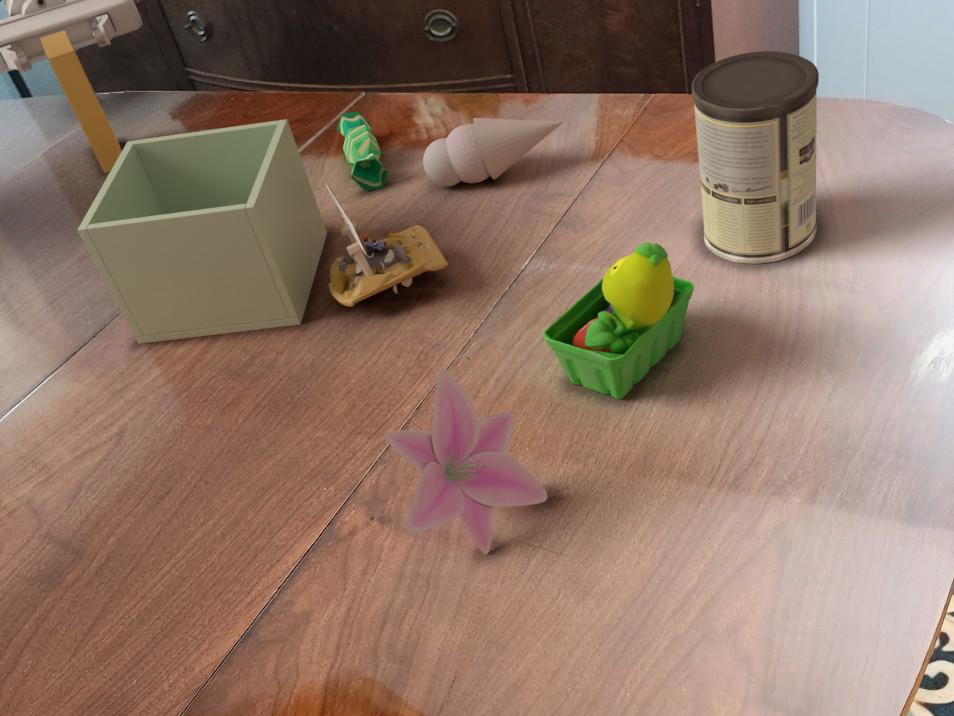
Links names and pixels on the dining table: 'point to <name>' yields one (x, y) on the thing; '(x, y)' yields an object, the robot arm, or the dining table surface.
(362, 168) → the candy
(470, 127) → the ice cream cone
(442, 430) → the lily
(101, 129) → the orange rectangular block
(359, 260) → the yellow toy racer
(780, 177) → the coffee can
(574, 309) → the fruit basket
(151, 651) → the dining table surface
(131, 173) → the waste bin
